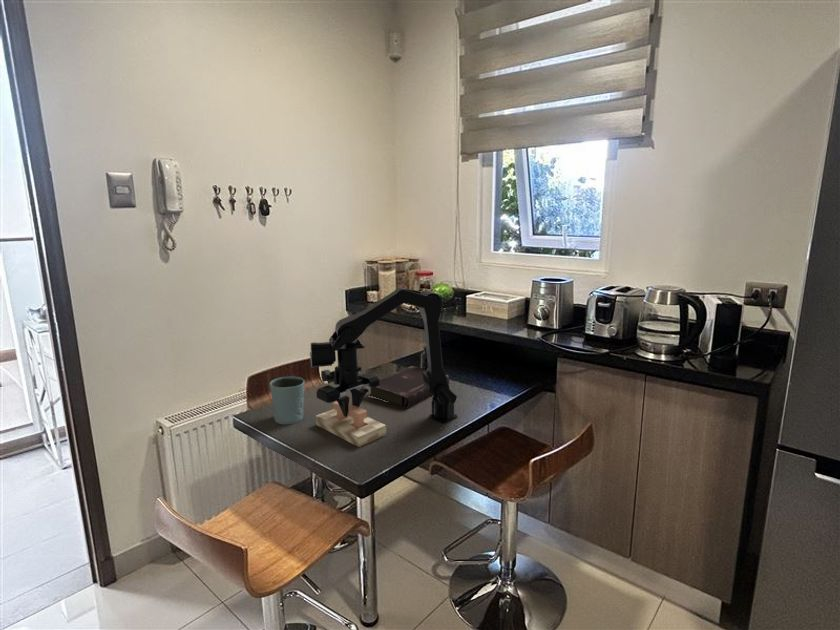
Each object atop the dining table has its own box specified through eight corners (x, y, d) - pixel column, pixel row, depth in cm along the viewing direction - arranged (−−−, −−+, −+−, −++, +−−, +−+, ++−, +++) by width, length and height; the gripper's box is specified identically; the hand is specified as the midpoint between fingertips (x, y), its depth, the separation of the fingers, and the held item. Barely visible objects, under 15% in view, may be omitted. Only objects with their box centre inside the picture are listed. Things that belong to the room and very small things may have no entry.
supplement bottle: (441, 378, 185) (441, 347, 183) (424, 380, 183) (423, 349, 181) (435, 372, 192) (435, 343, 189) (418, 374, 190) (418, 344, 187)
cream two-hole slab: (386, 434, 141) (385, 425, 140) (358, 447, 134) (358, 436, 133) (343, 414, 154) (343, 405, 154) (316, 424, 147) (316, 415, 147)
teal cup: (266, 418, 152) (263, 382, 149) (294, 408, 159) (292, 373, 156) (284, 428, 145) (281, 390, 142) (313, 417, 152) (311, 381, 150)
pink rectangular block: (367, 427, 140) (367, 410, 139) (359, 430, 138) (358, 414, 137) (342, 415, 149) (341, 399, 147) (333, 418, 146) (333, 402, 145)
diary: (449, 387, 178) (450, 374, 177) (408, 411, 158) (408, 396, 157) (408, 376, 189) (408, 364, 188) (365, 397, 169) (364, 383, 168)
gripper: (356, 350, 151) (357, 398, 155) (303, 365, 138) (307, 416, 142) (379, 358, 144) (381, 408, 147) (327, 374, 131) (329, 428, 134)
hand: (350, 414), depth 143 cm, fingers closed on pink rectangular block, 3 cm apart
